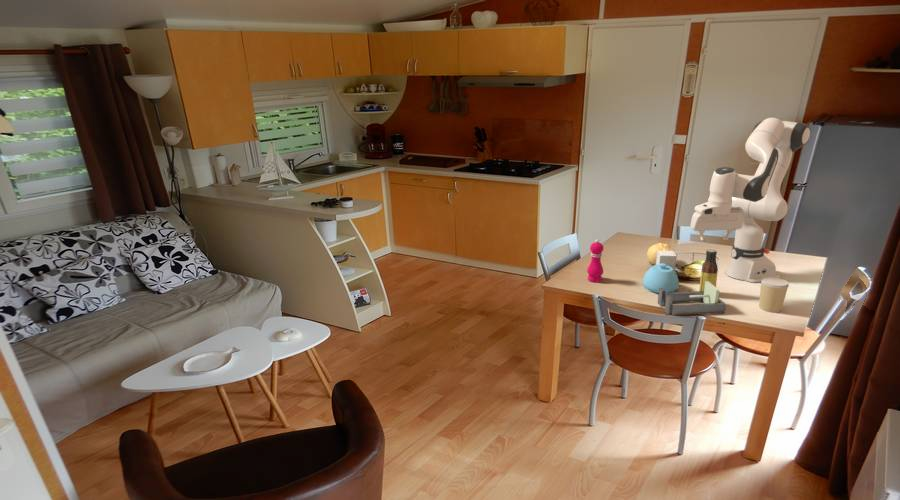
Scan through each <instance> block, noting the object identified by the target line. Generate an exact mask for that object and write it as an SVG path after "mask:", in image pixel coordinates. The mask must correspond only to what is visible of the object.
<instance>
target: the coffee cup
mask: <svg viewBox="0 0 900 500" xmlns="http://www.w3.org/2000/svg"><path fill="white" fill-rule="evenodd" d="M760 283H761V285H760V290H759V291H760V292H759V303H758V307H759V309H760V310H762V311H764V312H768V313H775V314H776V313H779V312H781V311H782V308H783V307H784V302H785V299H786V296H787V291H788V289H789V287H790V286H789V282H788V281H787V280H786V279H783V278H781V277H780V278H776V277H765V278H763V279H762V280H761V282H760Z"/></svg>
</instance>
